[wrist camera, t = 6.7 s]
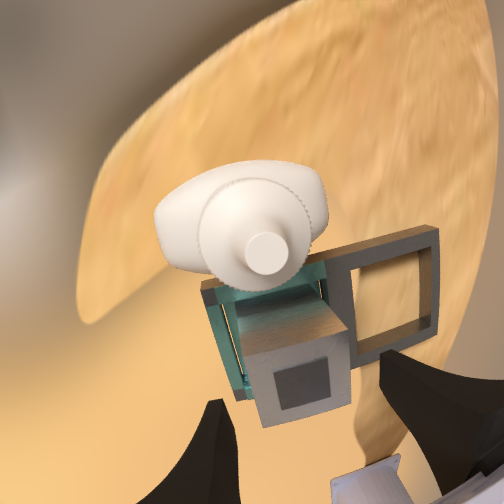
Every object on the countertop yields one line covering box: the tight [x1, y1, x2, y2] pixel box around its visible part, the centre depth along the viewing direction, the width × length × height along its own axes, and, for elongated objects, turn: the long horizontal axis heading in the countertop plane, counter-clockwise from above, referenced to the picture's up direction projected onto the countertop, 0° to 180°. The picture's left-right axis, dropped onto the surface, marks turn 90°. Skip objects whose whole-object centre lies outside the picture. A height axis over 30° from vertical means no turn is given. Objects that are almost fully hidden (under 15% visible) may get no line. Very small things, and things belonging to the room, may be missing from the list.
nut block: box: [234, 283, 351, 428], centre depth 15 cm, size 4×4×6 cm
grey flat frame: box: [200, 225, 440, 401], centre depth 18 cm, size 8×15×2 cm, turn 103°
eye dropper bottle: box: [154, 160, 329, 293], centre depth 11 cm, size 4×6×12 cm
